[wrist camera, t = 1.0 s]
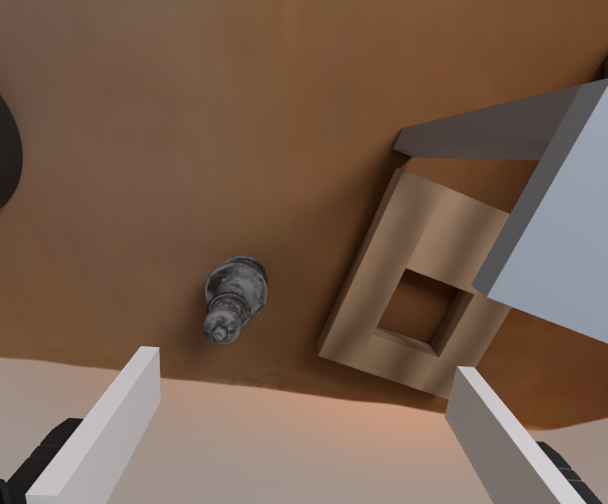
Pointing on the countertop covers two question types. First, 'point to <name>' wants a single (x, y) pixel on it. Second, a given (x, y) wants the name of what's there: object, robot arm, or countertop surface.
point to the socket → (425, 260)
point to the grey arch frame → (541, 200)
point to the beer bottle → (606, 69)
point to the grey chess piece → (234, 298)
